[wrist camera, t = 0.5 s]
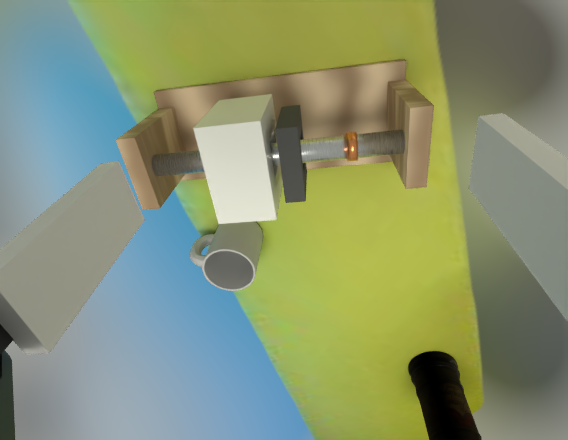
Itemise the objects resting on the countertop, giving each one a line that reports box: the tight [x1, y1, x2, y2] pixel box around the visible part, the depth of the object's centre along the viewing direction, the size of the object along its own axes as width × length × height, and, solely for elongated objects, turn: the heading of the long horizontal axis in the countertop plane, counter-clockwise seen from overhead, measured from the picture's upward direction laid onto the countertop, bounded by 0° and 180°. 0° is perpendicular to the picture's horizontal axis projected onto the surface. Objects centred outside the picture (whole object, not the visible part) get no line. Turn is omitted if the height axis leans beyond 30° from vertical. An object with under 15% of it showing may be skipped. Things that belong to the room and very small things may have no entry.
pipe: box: [152, 130, 405, 176], centre depth 37 cm, size 28×3×3 cm, turn 97°
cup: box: [190, 221, 263, 291], centre depth 52 cm, size 7×10×9 cm
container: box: [409, 352, 481, 440], centre depth 61 cm, size 9×9×18 cm
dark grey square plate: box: [275, 105, 307, 203], centre depth 37 cm, size 2×8×8 cm, turn 7°
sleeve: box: [193, 94, 283, 224], centre depth 38 cm, size 6×10×10 cm, turn 7°
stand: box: [116, 59, 434, 210], centre depth 41 cm, size 30×12×12 cm, turn 97°
